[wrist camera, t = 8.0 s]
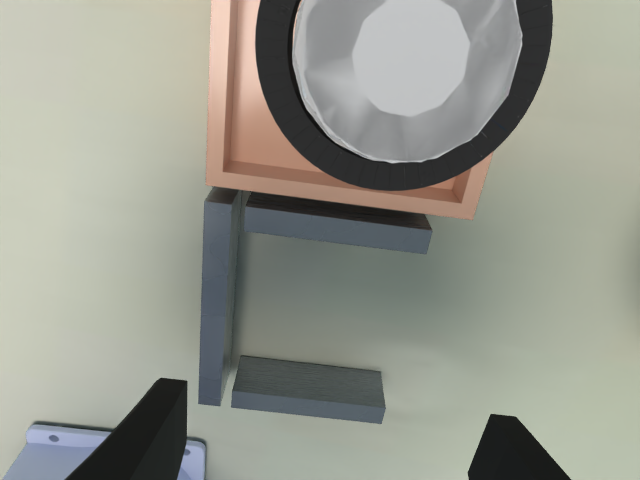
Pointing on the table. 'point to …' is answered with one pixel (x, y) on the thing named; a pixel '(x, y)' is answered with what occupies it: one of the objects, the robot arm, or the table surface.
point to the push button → (400, 82)
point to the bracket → (219, 294)
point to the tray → (273, 147)
